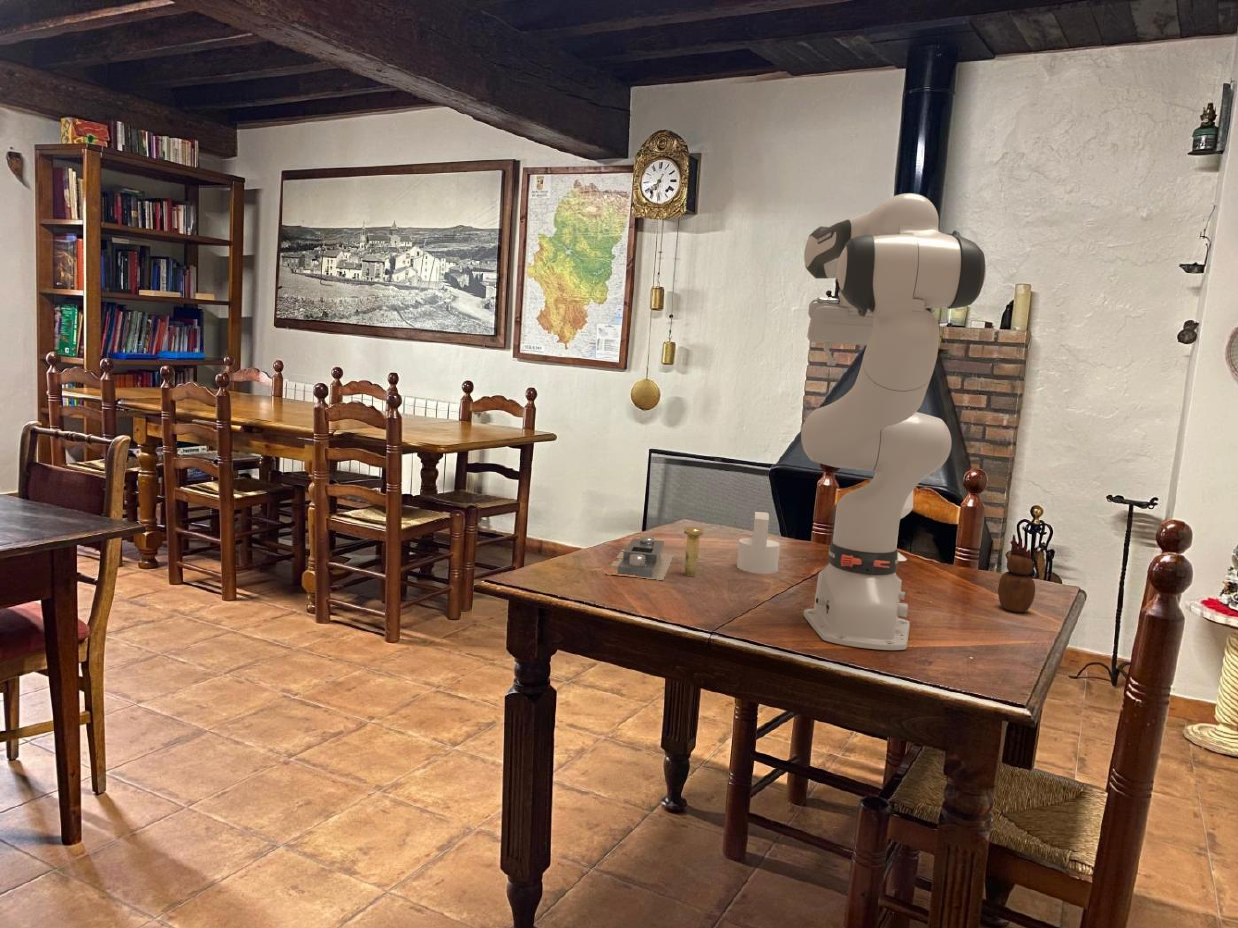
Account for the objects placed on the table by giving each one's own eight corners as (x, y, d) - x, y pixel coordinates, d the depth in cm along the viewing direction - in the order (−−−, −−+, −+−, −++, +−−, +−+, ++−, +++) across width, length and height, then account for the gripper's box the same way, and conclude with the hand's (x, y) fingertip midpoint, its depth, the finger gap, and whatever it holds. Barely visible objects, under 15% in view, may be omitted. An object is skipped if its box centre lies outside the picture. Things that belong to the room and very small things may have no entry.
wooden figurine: (990, 605, 182) (999, 533, 180) (1012, 604, 184) (1021, 532, 182) (1015, 615, 175) (1025, 540, 173) (1038, 614, 177) (1047, 540, 175)
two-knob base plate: (663, 581, 183) (664, 560, 183) (605, 574, 185) (606, 554, 184) (673, 556, 206) (675, 537, 205) (622, 550, 208) (623, 532, 207)
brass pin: (699, 578, 188) (702, 531, 186) (680, 576, 188) (683, 529, 187) (700, 573, 192) (704, 527, 190) (681, 571, 192) (685, 525, 191)
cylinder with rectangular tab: (777, 575, 195) (782, 521, 193) (736, 571, 196) (740, 517, 194) (777, 566, 203) (782, 514, 202) (737, 561, 205) (741, 510, 203)
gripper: (811, 295, 184) (805, 363, 185) (913, 302, 182) (906, 370, 184) (808, 297, 190) (801, 363, 191) (906, 304, 188) (899, 370, 190)
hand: (853, 367), depth 188 cm, fingers open, 8 cm apart
